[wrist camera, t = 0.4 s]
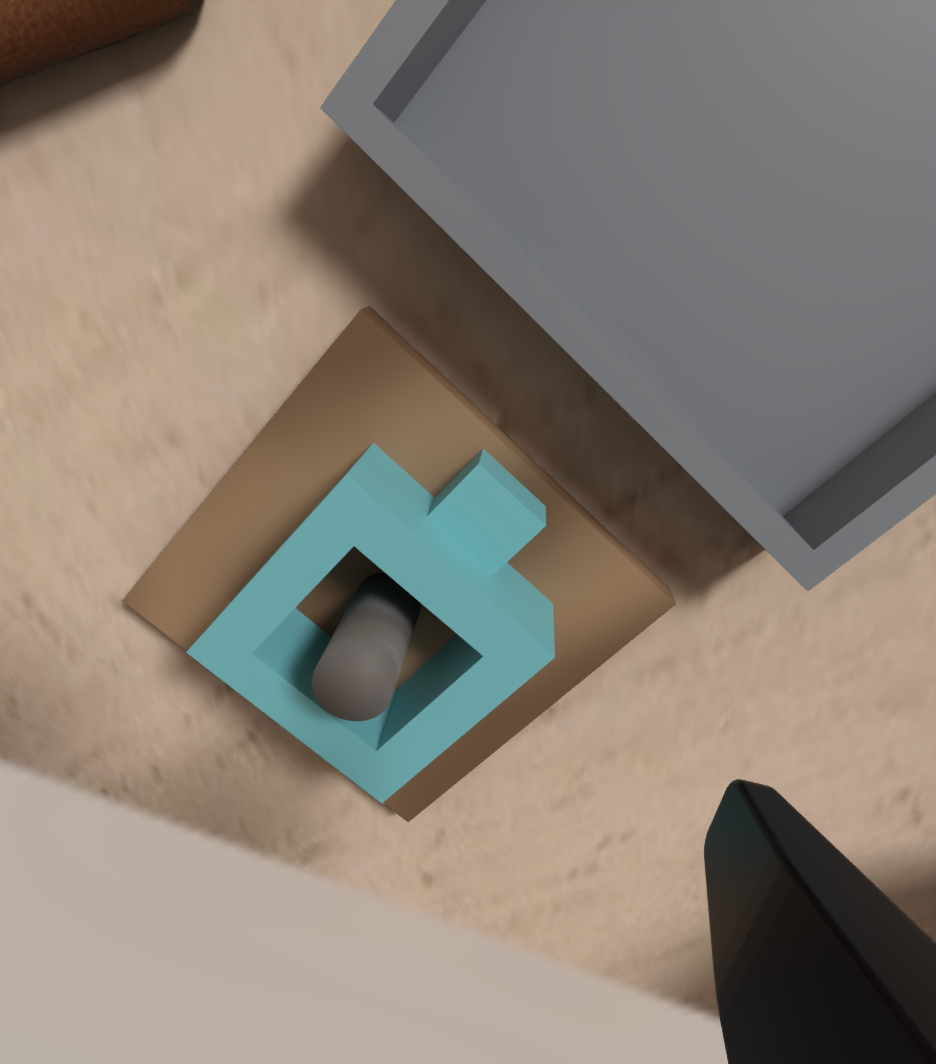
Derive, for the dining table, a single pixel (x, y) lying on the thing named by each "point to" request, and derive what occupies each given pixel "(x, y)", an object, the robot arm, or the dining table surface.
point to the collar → (429, 576)
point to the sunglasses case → (73, 28)
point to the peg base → (359, 584)
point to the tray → (698, 226)
